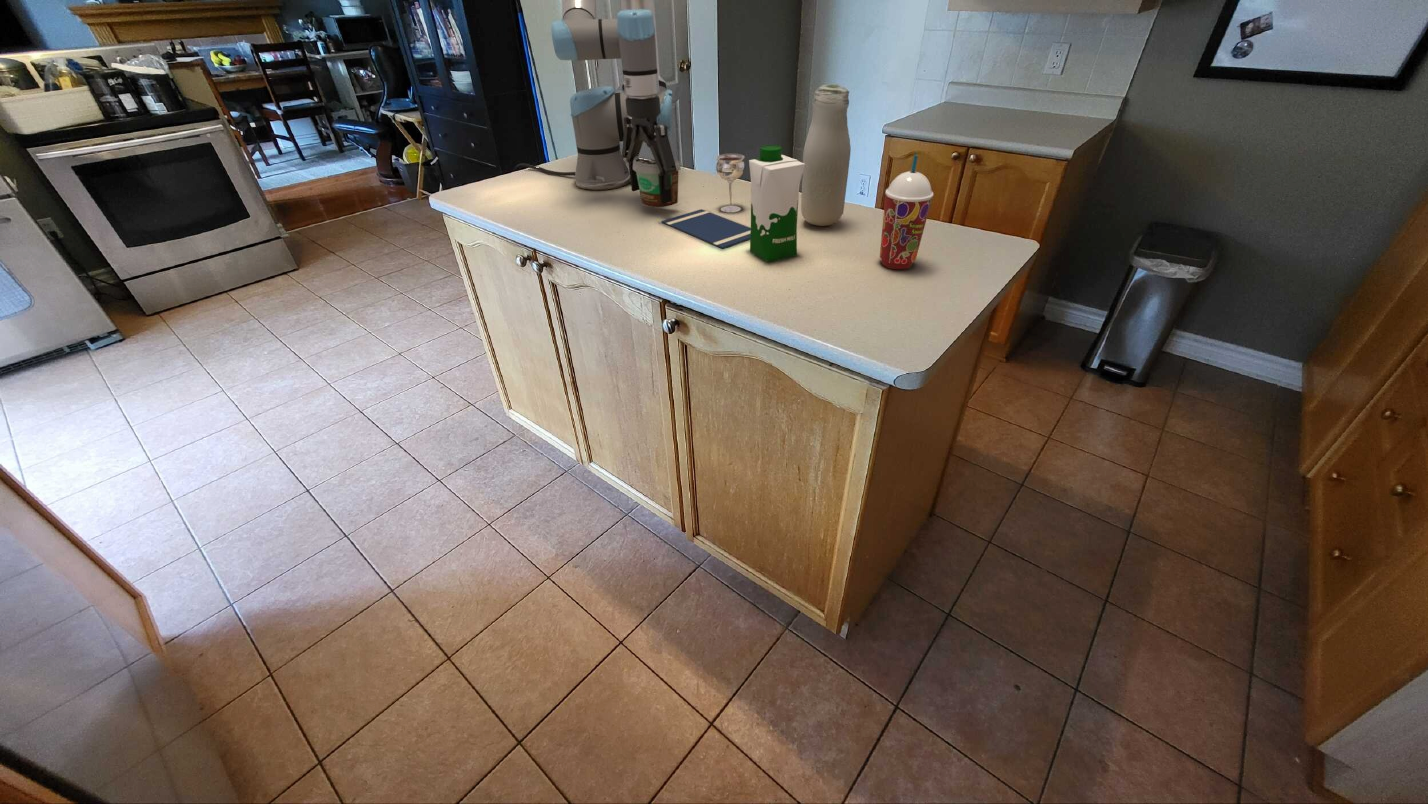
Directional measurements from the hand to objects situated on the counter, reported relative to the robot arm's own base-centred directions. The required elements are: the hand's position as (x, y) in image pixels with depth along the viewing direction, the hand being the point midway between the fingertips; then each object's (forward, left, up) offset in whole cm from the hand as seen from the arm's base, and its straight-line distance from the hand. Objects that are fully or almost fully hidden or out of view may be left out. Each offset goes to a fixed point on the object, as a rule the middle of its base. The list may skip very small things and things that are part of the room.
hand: (651, 196), depth 138 cm
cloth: (+19, +3, -4) cm, 20 cm away
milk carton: (+39, +3, -4) cm, 40 cm away
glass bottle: (+34, +23, -4) cm, 41 cm away
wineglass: (+12, +15, -4) cm, 20 cm away
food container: (+1, 0, -2) cm, 2 cm away
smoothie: (+59, +17, -4) cm, 62 cm away
